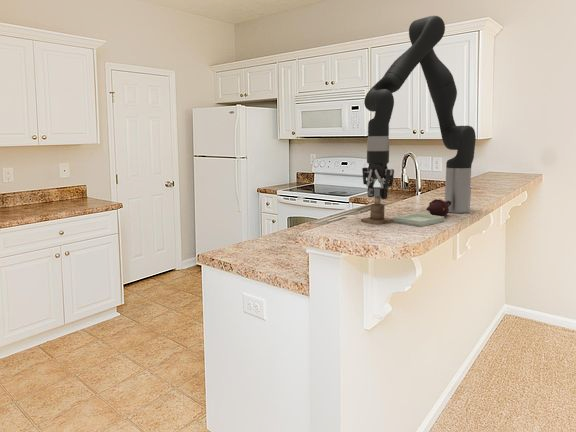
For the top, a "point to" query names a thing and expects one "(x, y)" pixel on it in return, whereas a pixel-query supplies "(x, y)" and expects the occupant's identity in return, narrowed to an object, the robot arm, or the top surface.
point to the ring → (374, 191)
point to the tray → (418, 219)
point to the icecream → (439, 207)
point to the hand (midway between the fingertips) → (377, 197)
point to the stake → (377, 213)
